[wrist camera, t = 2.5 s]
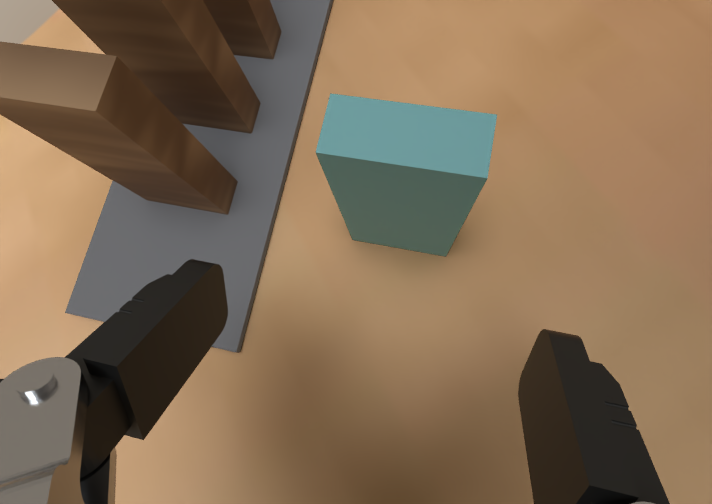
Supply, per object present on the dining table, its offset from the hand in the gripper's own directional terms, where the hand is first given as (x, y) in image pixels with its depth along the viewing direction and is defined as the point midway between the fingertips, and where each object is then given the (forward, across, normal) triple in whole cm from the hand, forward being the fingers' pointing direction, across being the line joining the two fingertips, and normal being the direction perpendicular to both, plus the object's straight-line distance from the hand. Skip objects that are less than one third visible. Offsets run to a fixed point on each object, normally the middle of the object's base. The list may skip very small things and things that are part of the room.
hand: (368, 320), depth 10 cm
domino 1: (+14, +12, 0) cm, 19 cm away
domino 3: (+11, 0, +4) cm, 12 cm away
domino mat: (+15, +12, 0) cm, 19 cm away
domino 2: (+11, +12, +3) cm, 17 cm away
